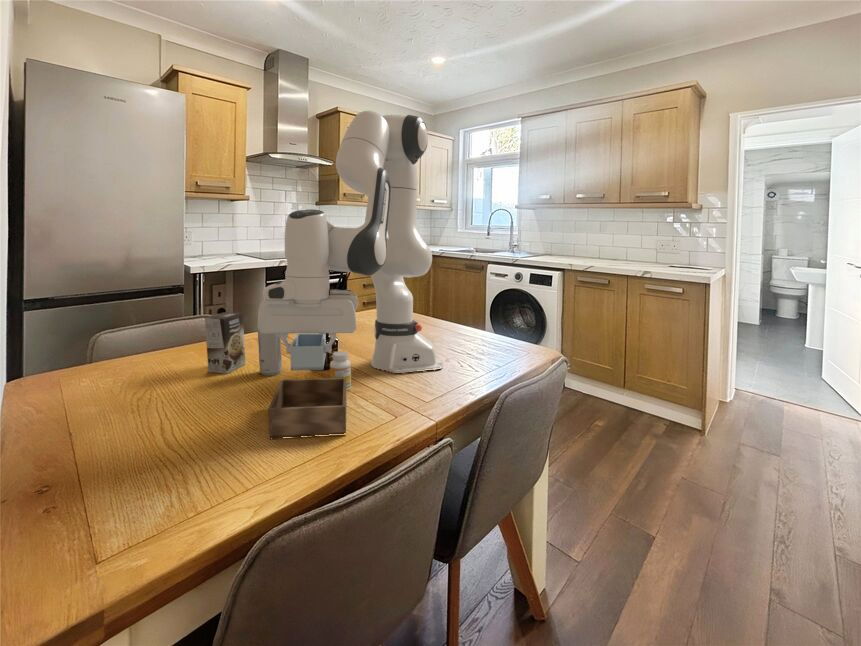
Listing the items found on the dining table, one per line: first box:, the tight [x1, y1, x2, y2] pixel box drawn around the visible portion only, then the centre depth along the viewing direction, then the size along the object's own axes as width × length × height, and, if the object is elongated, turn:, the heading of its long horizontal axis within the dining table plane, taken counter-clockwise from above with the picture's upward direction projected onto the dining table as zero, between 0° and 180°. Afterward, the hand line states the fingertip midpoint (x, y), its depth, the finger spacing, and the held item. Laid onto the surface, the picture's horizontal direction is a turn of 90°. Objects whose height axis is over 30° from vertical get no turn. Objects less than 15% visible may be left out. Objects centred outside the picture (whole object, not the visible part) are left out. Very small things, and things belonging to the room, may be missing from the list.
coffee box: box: [204, 311, 246, 375], centre depth 131 cm, size 9×6×16 cm
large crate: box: [267, 377, 347, 440], centre depth 100 cm, size 15×17×6 cm
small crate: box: [290, 333, 327, 371], centre depth 97 cm, size 6×11×5 cm, turn 10°
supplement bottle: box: [329, 350, 352, 391], centre depth 119 cm, size 5×5×10 cm
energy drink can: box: [257, 329, 283, 376], centre depth 128 cm, size 6×6×15 cm
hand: (309, 352), depth 97 cm, fingers closed on small crate, 6 cm apart
